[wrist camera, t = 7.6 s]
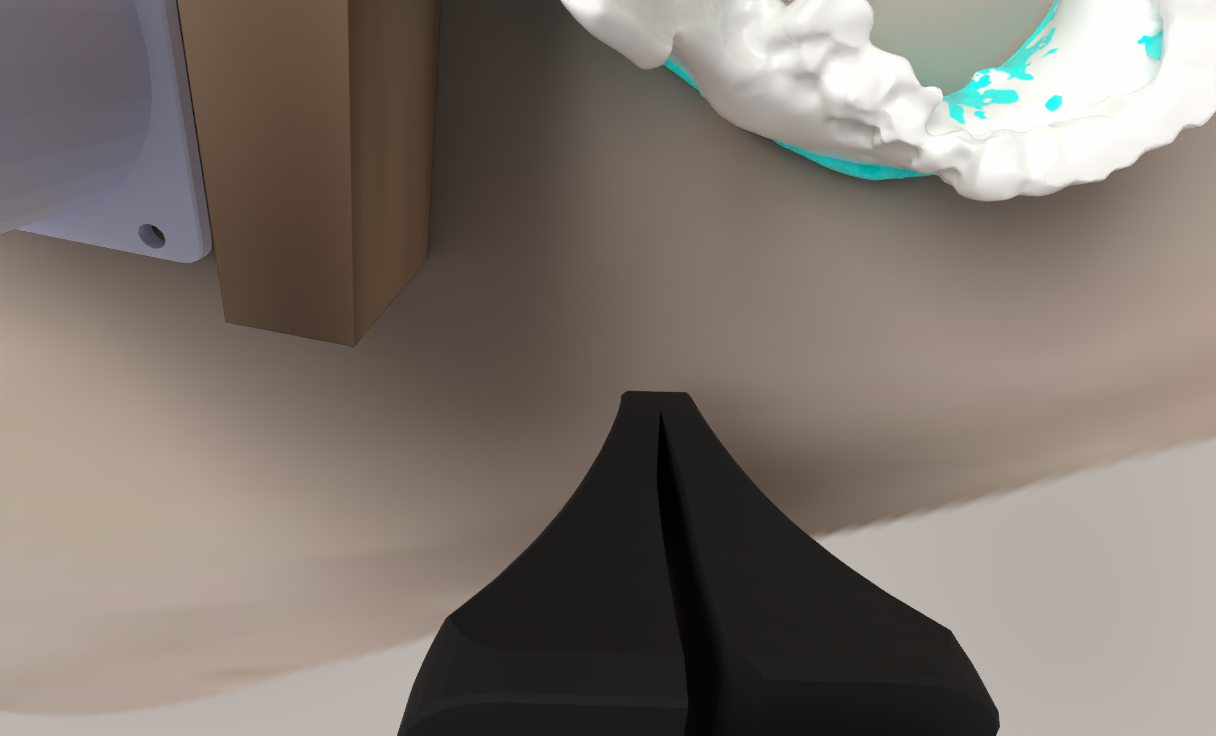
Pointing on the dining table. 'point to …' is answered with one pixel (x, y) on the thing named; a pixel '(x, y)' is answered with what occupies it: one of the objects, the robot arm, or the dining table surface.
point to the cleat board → (314, 154)
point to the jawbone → (921, 116)
